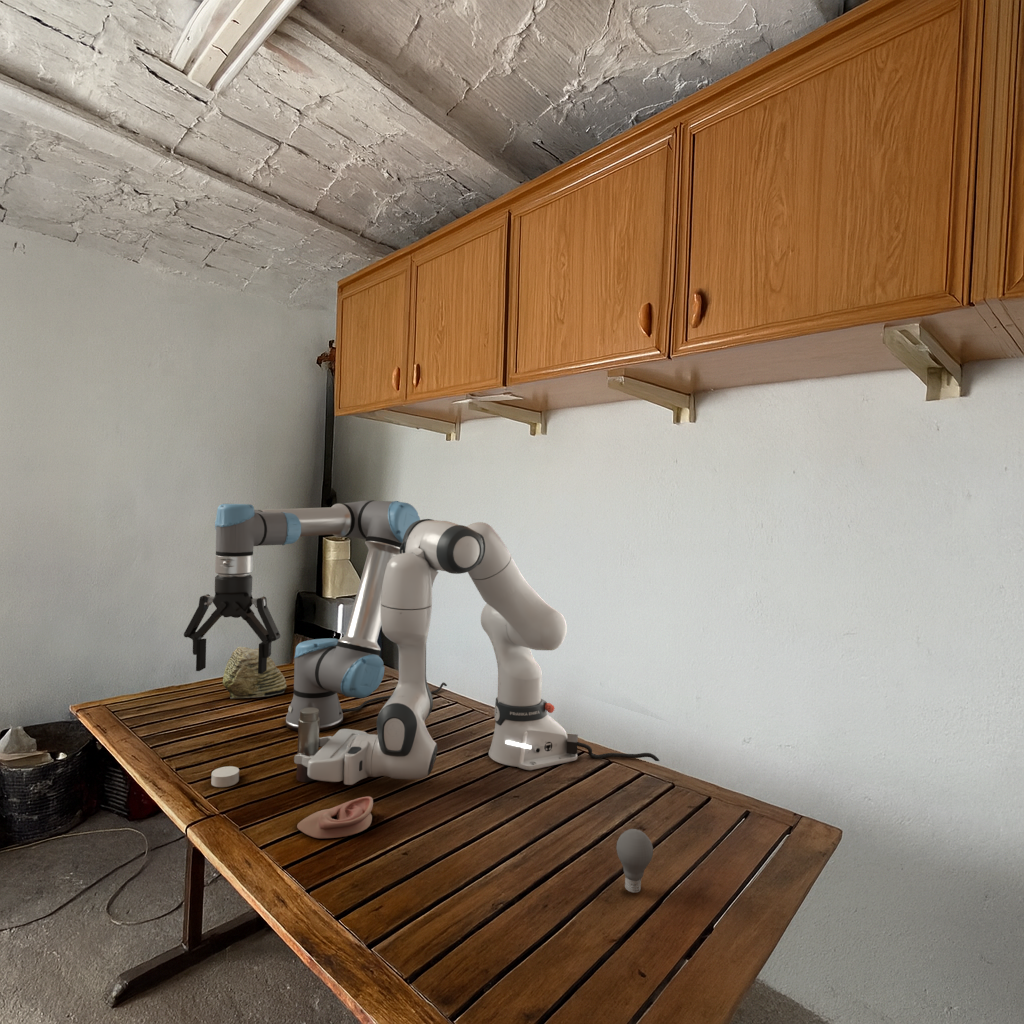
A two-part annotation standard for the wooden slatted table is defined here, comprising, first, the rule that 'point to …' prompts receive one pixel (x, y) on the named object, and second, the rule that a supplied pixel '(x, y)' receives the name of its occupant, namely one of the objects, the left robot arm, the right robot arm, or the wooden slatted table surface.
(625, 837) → the light bulb
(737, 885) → the wooden slatted table surface
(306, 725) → the metal cylinder
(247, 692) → the fossil
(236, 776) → the lid
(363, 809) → the anatomical model
